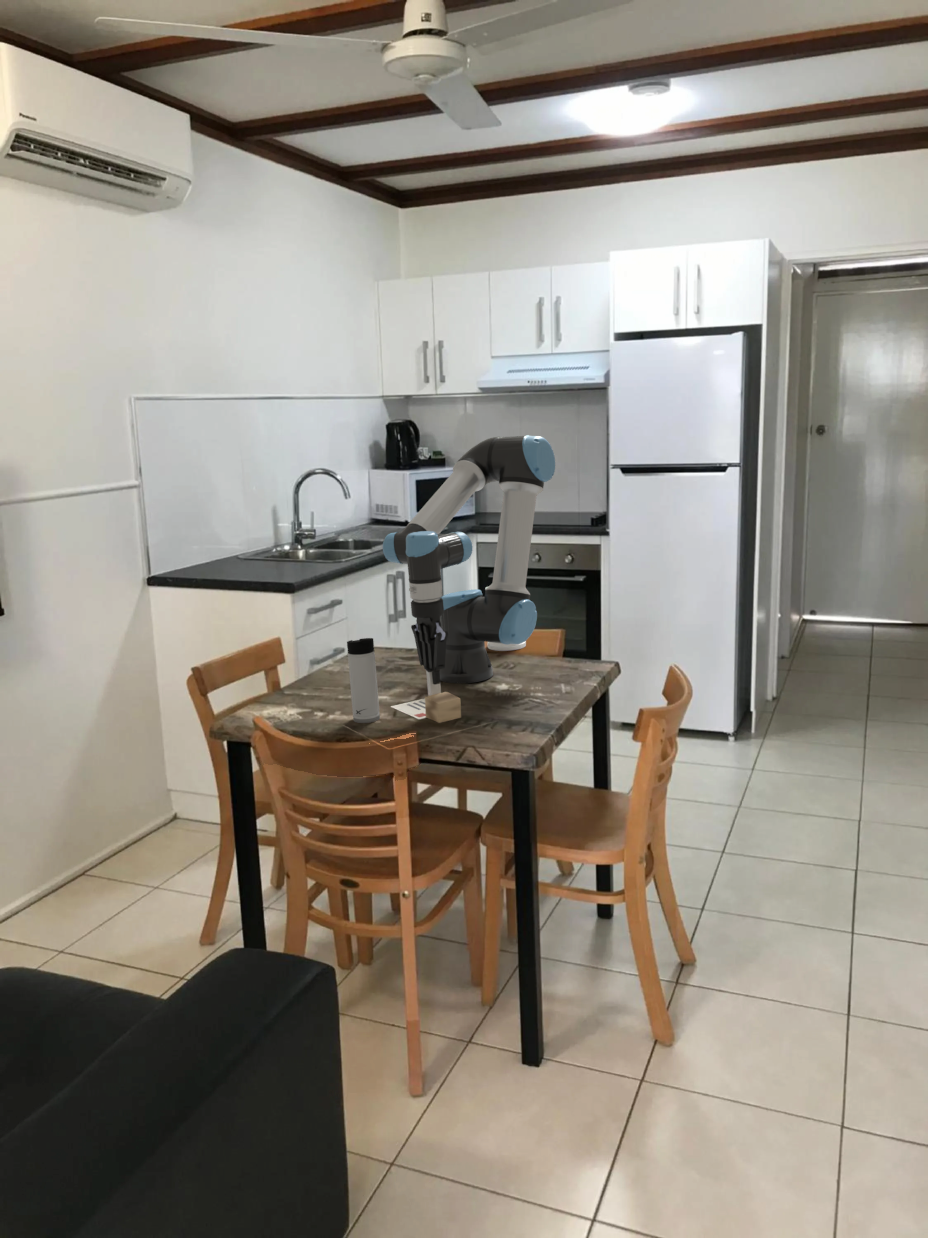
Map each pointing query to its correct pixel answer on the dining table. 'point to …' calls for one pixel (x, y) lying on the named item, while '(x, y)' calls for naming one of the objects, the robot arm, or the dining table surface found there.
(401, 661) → the dining table surface
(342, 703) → the dining table surface
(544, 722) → the dining table surface
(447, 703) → the oak block
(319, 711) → the dining table surface
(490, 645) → the decorative container
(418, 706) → the letter
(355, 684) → the travel mug
